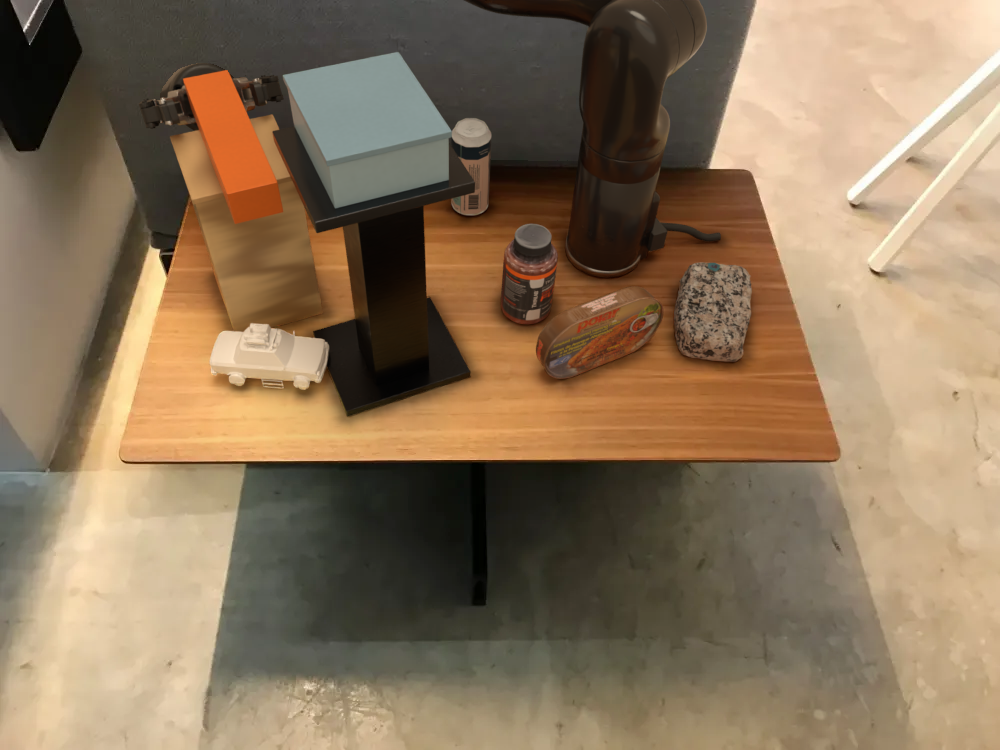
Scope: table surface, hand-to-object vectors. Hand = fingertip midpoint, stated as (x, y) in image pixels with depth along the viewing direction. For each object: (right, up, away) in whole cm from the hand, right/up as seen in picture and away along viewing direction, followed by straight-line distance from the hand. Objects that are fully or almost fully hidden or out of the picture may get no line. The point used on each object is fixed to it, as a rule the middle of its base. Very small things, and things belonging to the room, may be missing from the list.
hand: (217, 103), depth 84 cm
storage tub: (+16, -7, -10) cm, 20 cm away
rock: (+52, -21, +16) cm, 59 cm away
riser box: (+1, -17, +16) cm, 23 cm away
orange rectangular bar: (+2, -5, 0) cm, 6 cm away
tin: (+38, -25, +12) cm, 47 cm away
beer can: (+24, -5, +27) cm, 36 cm away
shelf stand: (+16, -25, +11) cm, 31 cm away
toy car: (+3, -26, +9) cm, 28 cm away
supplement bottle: (+31, -19, +16) cm, 40 cm away
